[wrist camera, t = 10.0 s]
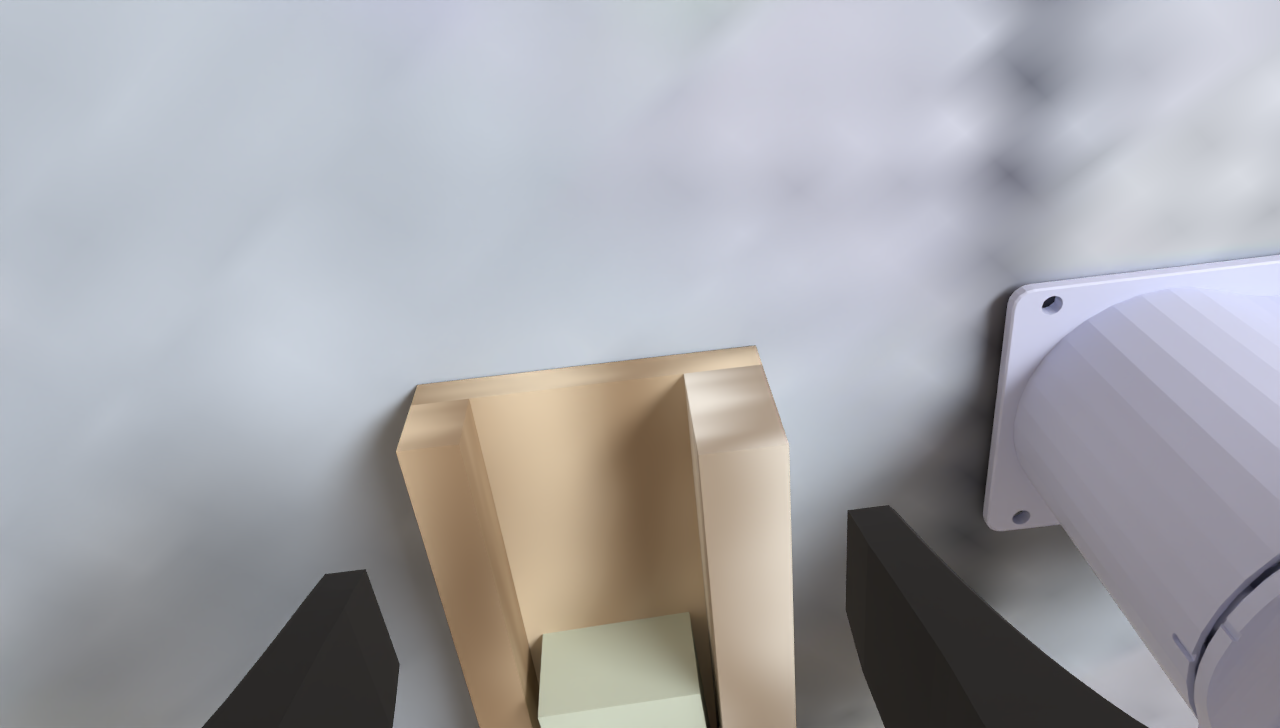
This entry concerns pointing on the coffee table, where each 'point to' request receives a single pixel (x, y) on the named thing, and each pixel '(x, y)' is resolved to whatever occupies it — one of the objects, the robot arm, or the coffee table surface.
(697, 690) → the slab with grey handle
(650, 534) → the board
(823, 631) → the coffee table surface
